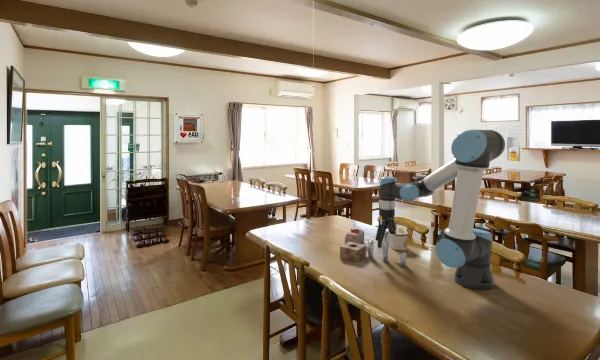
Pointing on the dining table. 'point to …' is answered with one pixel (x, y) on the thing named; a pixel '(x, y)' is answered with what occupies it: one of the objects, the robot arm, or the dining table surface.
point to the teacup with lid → (400, 239)
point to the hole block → (353, 251)
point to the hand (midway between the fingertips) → (385, 249)
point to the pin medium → (370, 249)
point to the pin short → (403, 259)
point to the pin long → (385, 247)
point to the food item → (355, 236)
